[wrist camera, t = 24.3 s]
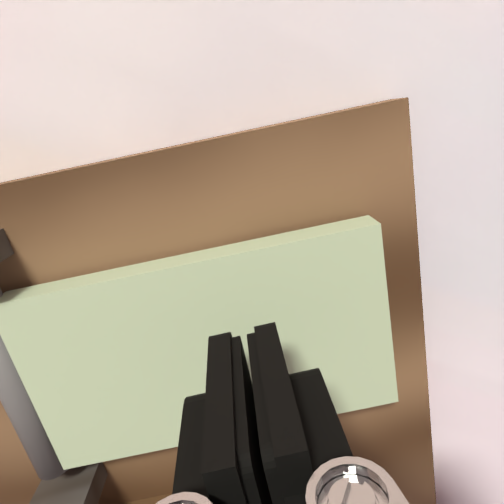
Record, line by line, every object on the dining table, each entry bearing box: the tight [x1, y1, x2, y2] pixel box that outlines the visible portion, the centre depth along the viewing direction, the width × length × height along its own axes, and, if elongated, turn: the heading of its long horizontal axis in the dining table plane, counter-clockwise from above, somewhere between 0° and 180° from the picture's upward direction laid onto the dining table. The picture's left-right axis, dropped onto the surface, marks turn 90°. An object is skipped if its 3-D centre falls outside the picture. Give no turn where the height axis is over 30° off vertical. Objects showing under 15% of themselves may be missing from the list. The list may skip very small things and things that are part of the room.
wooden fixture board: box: [0, 98, 436, 504], centre depth 14 cm, size 24×18×4 cm
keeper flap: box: [0, 215, 399, 481], centre depth 12 cm, size 6×1×12 cm
